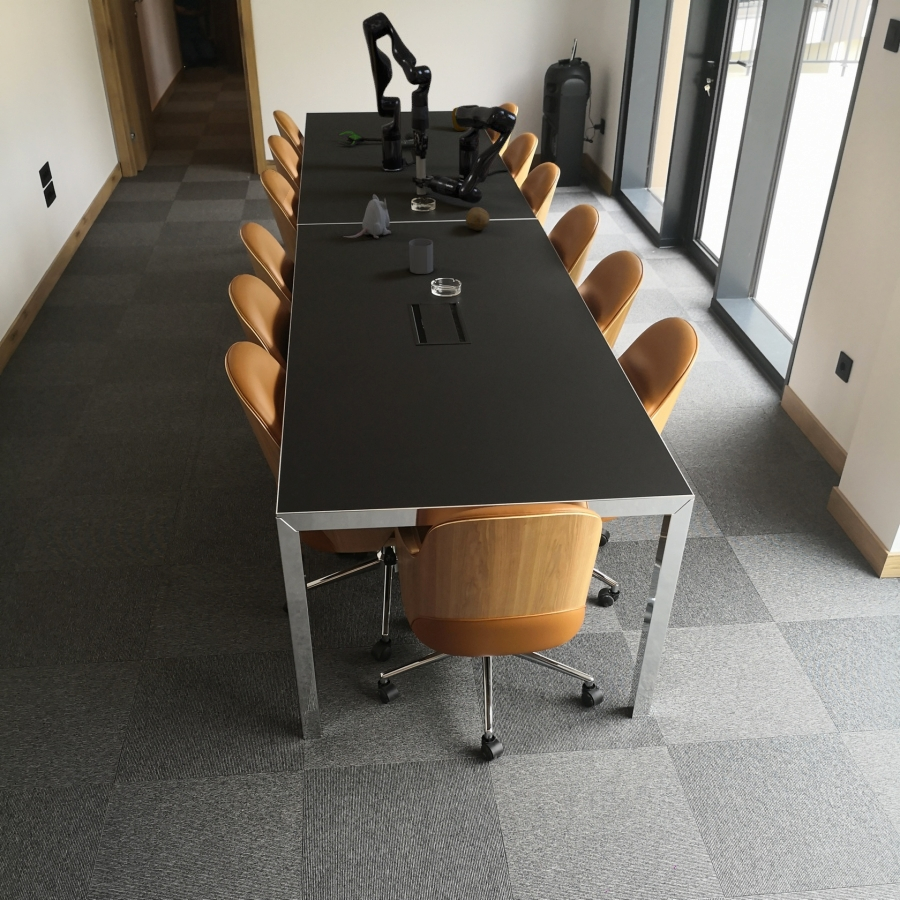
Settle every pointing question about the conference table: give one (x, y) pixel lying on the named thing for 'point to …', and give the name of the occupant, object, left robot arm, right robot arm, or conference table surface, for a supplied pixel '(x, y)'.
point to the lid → (418, 152)
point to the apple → (456, 122)
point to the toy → (375, 219)
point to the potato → (477, 218)
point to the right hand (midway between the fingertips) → (417, 178)
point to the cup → (421, 256)
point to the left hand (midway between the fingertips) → (420, 157)
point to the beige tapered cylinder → (421, 173)
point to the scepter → (357, 139)
